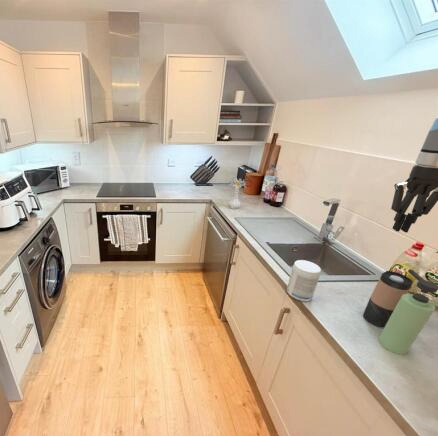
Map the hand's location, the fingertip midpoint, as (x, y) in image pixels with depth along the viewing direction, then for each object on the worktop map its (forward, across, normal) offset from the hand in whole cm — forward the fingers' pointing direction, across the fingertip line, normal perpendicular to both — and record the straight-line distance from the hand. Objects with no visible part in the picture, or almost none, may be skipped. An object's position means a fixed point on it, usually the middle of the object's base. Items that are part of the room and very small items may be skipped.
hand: (399, 230), depth 86 cm
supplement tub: (+33, +26, +6) cm, 43 cm away
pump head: (+10, +2, +21) cm, 23 cm away
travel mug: (+33, +2, +13) cm, 35 cm away
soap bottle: (+32, +2, +24) cm, 40 cm away
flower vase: (+33, +55, -96) cm, 115 cm away
